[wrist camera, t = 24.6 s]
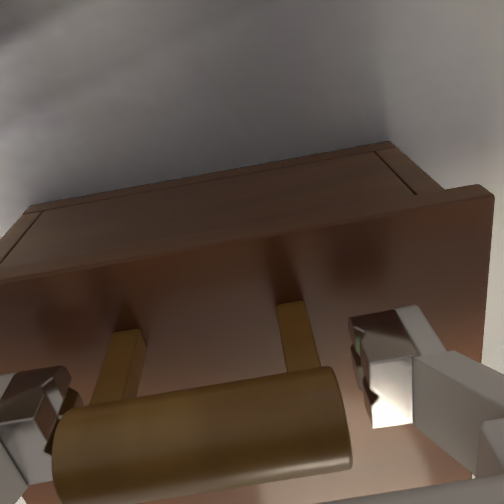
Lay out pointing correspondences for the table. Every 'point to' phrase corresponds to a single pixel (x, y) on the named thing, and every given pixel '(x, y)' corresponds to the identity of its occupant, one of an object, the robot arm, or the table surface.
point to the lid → (245, 353)
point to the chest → (213, 202)
